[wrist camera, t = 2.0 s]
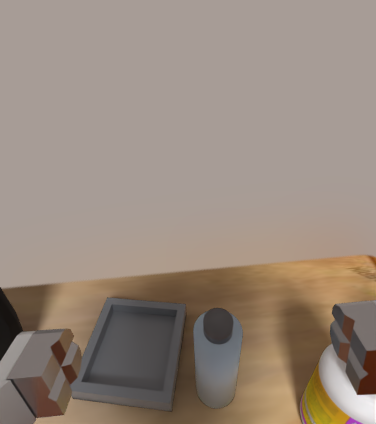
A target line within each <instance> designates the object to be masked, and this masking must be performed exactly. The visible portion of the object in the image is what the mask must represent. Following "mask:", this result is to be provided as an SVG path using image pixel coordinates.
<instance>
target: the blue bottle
mask: <svg viewBox="0 0 376 424" xmlns="http://www.w3.org/2000/svg"><path fill="white" fill-rule="evenodd" d="M193 333H194V354H195V375H196V390H197V394H198V396H199V398H200V400H201V401H202V402H203V403H204V404H205V405H207V406H209V407H211V408H217V409H218V408H223V407H225V406H227V405H228V404H229V403H230V402H231V401H232V400H233V398H234V395H235V391H236V383H237V375H238V368H239V360H240V352H241V345H242V337H243V330H242V326H241V324H240V322H239V321H238V319H237V318H236V317H235V316H234V315H232V314H231V313H229V312H228V311H226V310H224V309H221V308H214V309H211V310H209V311H207V312H205V313H203V314H202V315H200V316H199V317H198V319H197V320H196V322H195V324H194V329H193Z"/></svg>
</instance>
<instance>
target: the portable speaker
mask: <svg viewBox="0 0 376 424" xmlns="http://www.w3.org/2000/svg"><path fill="white" fill-rule="evenodd" d="M21 332H23V330H22V327H21V324H20V322H19V319H18V317H17V314H16V312H15V310H14V308H13V307H12V305H11V304H10V302H9V300H8V299H7V297H6V296H5V294H4V292H3V291H2V289H1V288H0V361H1V360H2V358H3V356H4V355H5V353H6V352H7V350H8V349H9V347H10V346H11V344H12V342H13V341H14V339H15V338H16V336H17V335H18V334H20V333H21Z"/></svg>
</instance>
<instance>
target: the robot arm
mask: <svg viewBox="0 0 376 424" xmlns="http://www.w3.org/2000/svg"><path fill="white" fill-rule="evenodd" d="M332 314H333V316H334V318H335V321H334V322H332V323H331V326H330V335H331V341H332V344H333V347H334V350H335V352H336V354H337V356H338V358H340V359H341V360H342V361H344V362H345V363H346V370H345V372H346V374H347V376H348V378H349V380H350V382H351V384H352V386H353V388H354V390H355V392H356V394H357V395H374V394H376V300H373V301H361V302H351V303H341V304H335V305H334V306H333V310H332ZM73 338H74V335H73V333H72V331H71V329H53V330H37V331H26V332H21V333H20V334H18V335H17V336H16V338H15V339H14V341H13V342H12V344H11V346H10V347H9V349H8V350H7V352H6V353H5V355H4V356H3V358H2V360H1V361H0V424H33V423H34V422H35V421H36V418H41V417H51V416H61V415H64V414H65V411H66V408H67V405H68V403H69V400H70V397H71V394H72V389H71V386H70V385H71V384H72V383H73V382H74V381H75V380H76V379H77V378H78V375H79V372H80V369H81V361H82V356H81V351H80V348H79V346H78V345H76V344H75V343H73V342H72V340H73Z"/></svg>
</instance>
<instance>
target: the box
mask: <svg viewBox="0 0 376 424" xmlns="http://www.w3.org/2000/svg"><path fill="white" fill-rule="evenodd" d="M185 318H186V304H177V303H166V302H154V301H142V300H130V299H119V298H107V300H106V302H105V304H104V307H103V309H102V311H101V314H100V316H99V319H98V321H97V323H96V326H95V328H94V330H93V333H92V335H91V338H90V340H89V342H88V345H87V347H86V350H85V352H84V354H83V357H82V361H81V369H80V372H79V375H78V378H77V379H76V380H75V381H74V382H73V383H72V384H71V385H70V386H71V389H72V394H71V396H72V397H73V399H80V400H87V401H95V402H103V403H110V404H118V405H126V406H133V407H141V408H149V409H156V410H164V411H172V406H173V399H174V392H175V385H176V379H177V372H178V365H179V358H180V352H181V345H182V338H183V331H184V325H185Z"/></svg>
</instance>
